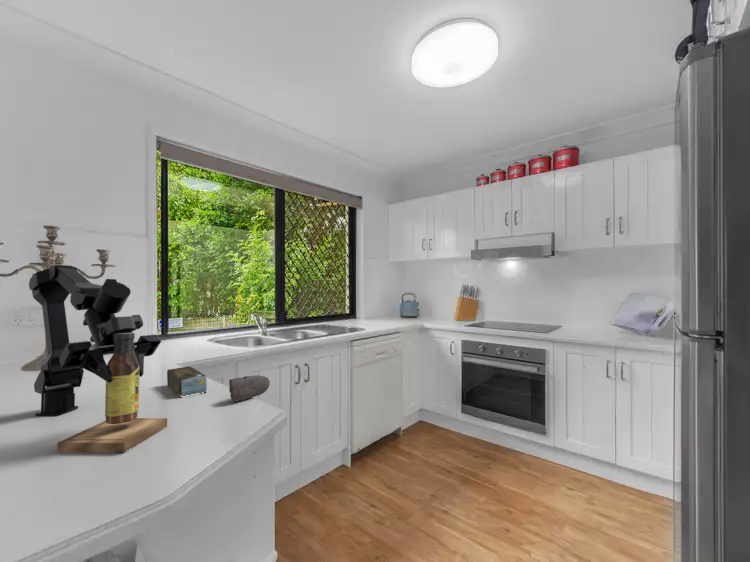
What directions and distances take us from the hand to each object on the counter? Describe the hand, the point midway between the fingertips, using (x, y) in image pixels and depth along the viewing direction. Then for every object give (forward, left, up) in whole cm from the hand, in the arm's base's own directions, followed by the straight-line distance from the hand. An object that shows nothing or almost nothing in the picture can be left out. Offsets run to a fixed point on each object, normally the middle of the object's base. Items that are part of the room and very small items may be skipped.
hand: (126, 378), depth 78 cm
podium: (-2, 0, -13) cm, 13 cm away
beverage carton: (-9, +39, -14) cm, 43 cm away
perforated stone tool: (+16, +31, -14) cm, 37 cm away
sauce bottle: (-1, +1, -10) cm, 10 cm away
